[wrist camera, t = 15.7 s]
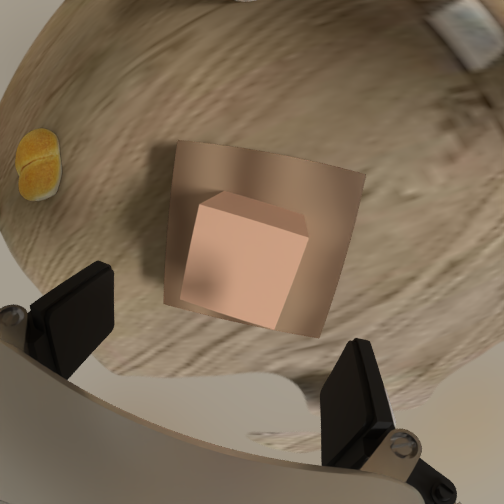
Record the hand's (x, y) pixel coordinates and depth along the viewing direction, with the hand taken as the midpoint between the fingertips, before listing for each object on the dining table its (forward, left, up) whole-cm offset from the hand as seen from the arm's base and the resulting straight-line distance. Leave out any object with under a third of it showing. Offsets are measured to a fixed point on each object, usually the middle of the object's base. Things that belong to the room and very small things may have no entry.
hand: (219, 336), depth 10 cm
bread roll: (+28, -1, -17) cm, 33 cm away
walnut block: (0, 0, -17) cm, 17 cm away
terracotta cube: (0, 0, -12) cm, 12 cm away
